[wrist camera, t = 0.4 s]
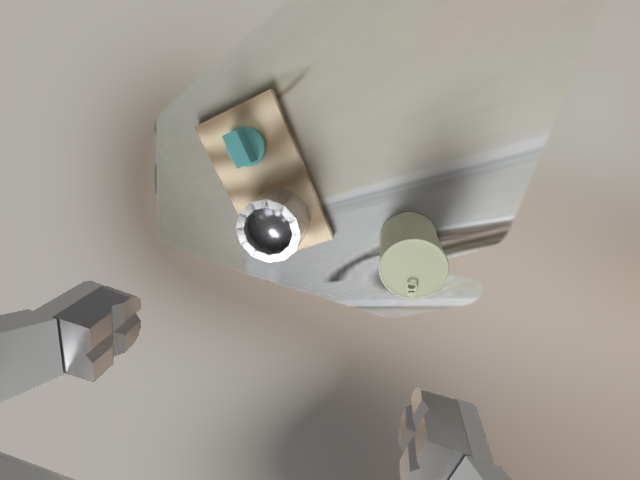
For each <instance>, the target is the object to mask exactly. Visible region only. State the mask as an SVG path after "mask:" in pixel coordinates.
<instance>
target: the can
mask: <svg viewBox="0 0 640 480" xmlns="http://www.w3.org/2000/svg"><path fill="white" fill-rule="evenodd" d="M379 240H380V262H379V275H380V278H381V280H382V282H383V284H384V285H385V287H386V288H387V289H388V290H389V291H391V292H392V293H394V294H395V295H398V296H400V297H403V298H408V299H418V298H424V297H427V296H430V295H432V294H433V293H435V292H436V291H438V290H439V289H440V288H441V287H442V286H443V284H444V283H445V281H446V279H447V277H448V273H449V263H448V259H447V257H446V255H445V253H444V252H443V249H442V247H441V245H440V242H439V240H438V237H437V232H436V229H435V227H434V225H433V223H432V222H431V221H430V220H429V219H428V218H427V217H425V216H423V215H421V214H419V213H415V212H403V213H399V214H396V215H394V216H392V217H391V218H390V219H388V220H387V221H386V222H385V224H384V225H383V227H382V229H381V232H380V237H379Z"/></svg>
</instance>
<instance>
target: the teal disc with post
mask: <svg viewBox="0 0 640 480" xmlns="http://www.w3.org/2000/svg"><path fill="white" fill-rule="evenodd" d="M222 138H223V140H224V142H225V144H226V149H227V153H228V155H229V157H230V158H231V159H232V161H233V162H234V163H235V165H236V167H237V169H238V168H240V167H250V166H253V165H256V164H258V163H259V162H260V161H261V160H262V159H263V158H264V156H265V153H266V142H265V139H264V137H263V136H262V134H261V133H260V132H259V131H258V130H257V129H255V128H253V127H249V126H243V127H237V128H235V129H233V130H232V131H231V132H229V133H227V134H225V135H223V136H222Z"/></svg>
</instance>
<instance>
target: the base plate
mask: <svg viewBox="0 0 640 480" xmlns="http://www.w3.org/2000/svg"><path fill="white" fill-rule="evenodd" d="M243 126H249V127H253V128H255V129H257V130H258V131H259V132H260V133H261V134H262V136H263V137H264V139H265V142H266V153H265V156H264V158H263V159H262V160H261V161H260V162H259V163H258V164H256V165H253V166H250V167H240V168H238V169H237V167H236V165H235V163H234V162H233V161H232V159H231V158H230V157H229V155H228V153H227V149H226V144H225V142H224V140H223V138H222V136H223V135H225V134H227V133H229V132H231V131H232V130H233V129H235V128H237V127H243ZM195 129H196V131H197V133H198V135H199V137H200V139H201V141H202V143H203V145H204V147H205V149H206V151H207V153H208V155H209V157H210V159H211V161H212V163H213V165H214V167H215V169H216V171H217V173H218V175H219V177H220V179H221V181H222V183H223V185H224V187H225V189H226V191H227V193H228V195H229V197H230V199H231V201H232V203H233V205H234V207H235V209H236V211H237V213H238V215H239V213H240V212H241V211H242V210H243V209H244V208H245V207H246V206H247V205H248V204H249V203H250V202H251V201H253V200H254V199H255V198H257V197H258V196H260V195H261V194H262V193H264V192H265V191H268V190H273V189H279V188H282V189H285V190H288V191H290V192H293V193H296V194H297V195H298V196H299V197H300V199H301V200H302V201H303V202H304V203H305V204H306V205H307V208H308V213H309V217H310V223H309V226H308V230H307V233H306V235H305V237H304V238H303V240H302V242H301V243H300V245H299V247H298V248H297V250H300V249H304V248H307V247H310V246H313V245H316V244H319V243H322V242H325V241H329V240H332V239H333V238H334V234H333V232H332V229H331V227H330V224H329V222H328V220H327V217H326V215H325V212H324V210H323V208H322V205H321V203H320V200H319V198H318V196H317V193H316V191H315V188H314V186H313V184H312V181H311V179H310V176H309V174H308V171H307V169H306V167H305V164H304V162H303V159H302V157H301V155H300V152H299V150H298V147H297V145H296V143H295V140H294V138H293V135H292V133H291V130H290V128H289V126H288V123H287V121H286V118H285V116H284V114H283V111H282V109H281V106H280V104H279V102H278V99H277V97H276V94H275V92H274V90H273V89H269V90H267V91H265V92H263V93H261V94H259V95H257V96H255V97H253V98H251V99H249V100H247V101H245V102H243V103H241V104H239V105H237V106H235V107H233V108H231V109H229V110H227V111H225V112H223V113H221V114H219V115H217V116H215V117H213V118H211V119H209V120H207V121H205V122H203V123H201V124H199V125H197V126H195ZM297 250H296V251H297ZM261 261H262V262H263V260H261Z"/></svg>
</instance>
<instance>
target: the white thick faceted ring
mask: <svg viewBox="0 0 640 480" xmlns="http://www.w3.org/2000/svg"><path fill="white" fill-rule="evenodd" d="M309 223H310V217H309V213H308V208H307V205H306V204H305V203H304V202H303V201H302V200H301V199H300V197H299V196H298V195H297V194H296V193H293V192H290V191H288V190H285V189H282V188H279V189H273V190H268V191H265V192H264V193H262V194H261V195H260V196H258V197H257V198H255V199H254V200H253V201H251V202H250V203H249V204H248V205H247V206H246V207H245V208H244V209H243V210H242V211H241V212H240V213H239V215H238V220H237V225H236V231H237V234H238V238H239V241H240V244H241V245H242V246H243V247H244V248H245V249H246V250H247V251H248V252H249V253H250V254H251V255H252V257H255V258H258V259H260V260H263V261H266V262H276V261H283V260H285V259H286V258H288V257H289V256H290V255H291V254H293V253H294V252H295V251H296V250H297V248H298V247H299V245H300V243H301V242H302V240H303V238H304V237H305V235H306V233H307V230H308V226H309Z"/></svg>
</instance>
